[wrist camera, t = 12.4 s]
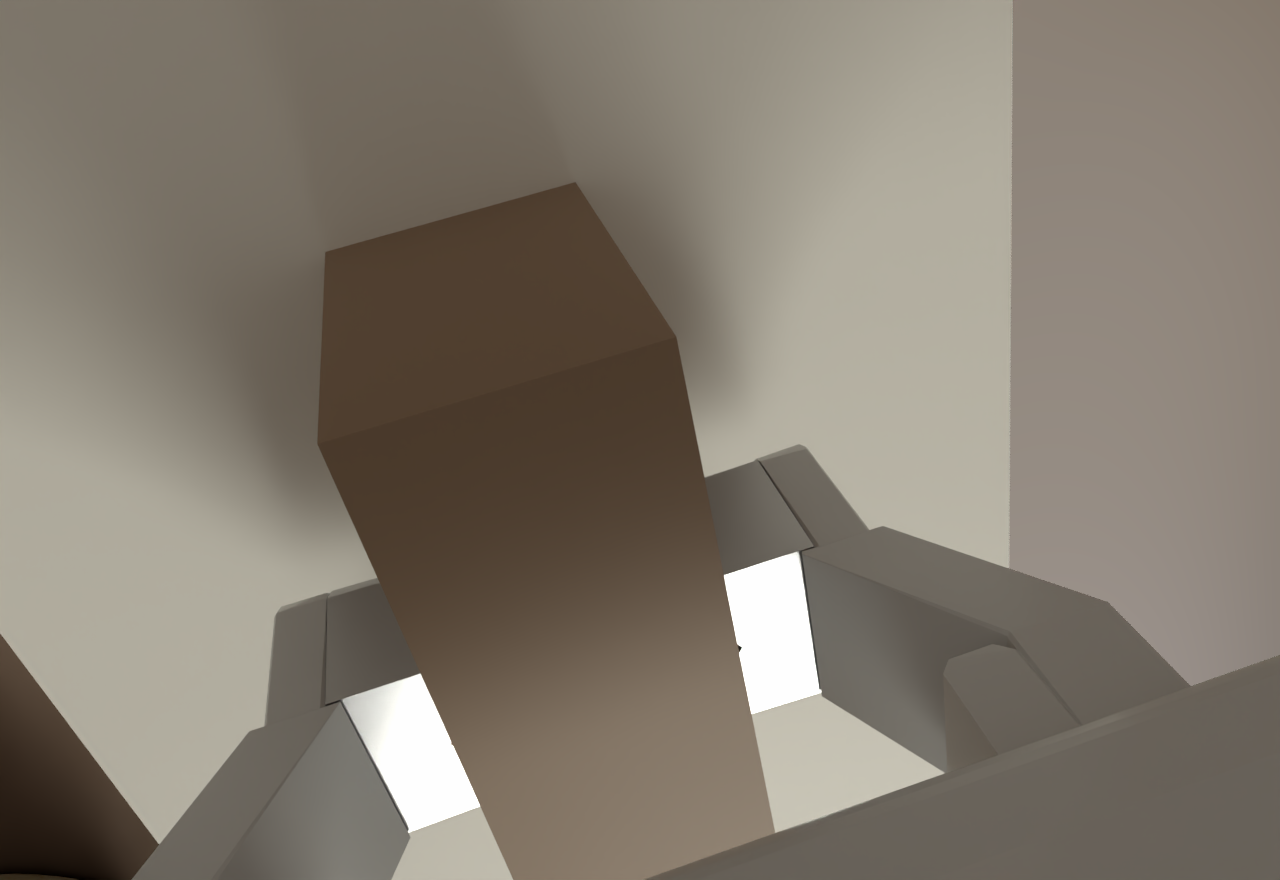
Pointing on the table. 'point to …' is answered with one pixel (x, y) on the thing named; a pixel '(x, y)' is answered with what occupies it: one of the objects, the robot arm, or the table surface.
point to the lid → (489, 375)
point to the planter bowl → (31, 877)
